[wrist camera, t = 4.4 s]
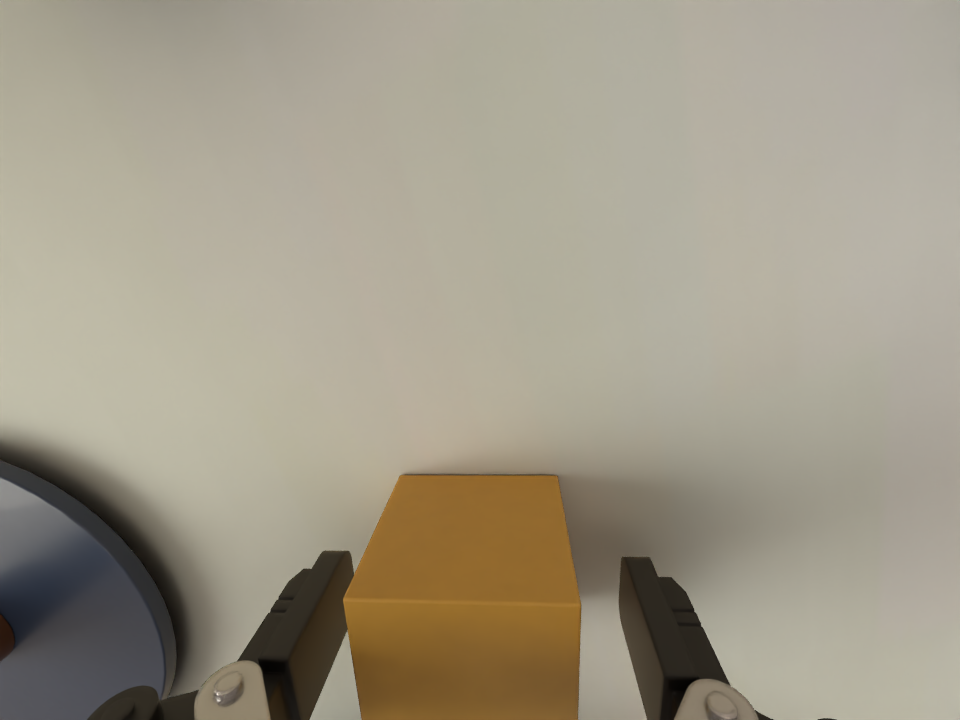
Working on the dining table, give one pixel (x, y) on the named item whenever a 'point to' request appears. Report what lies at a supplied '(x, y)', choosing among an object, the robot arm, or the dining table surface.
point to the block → (467, 603)
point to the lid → (72, 607)
